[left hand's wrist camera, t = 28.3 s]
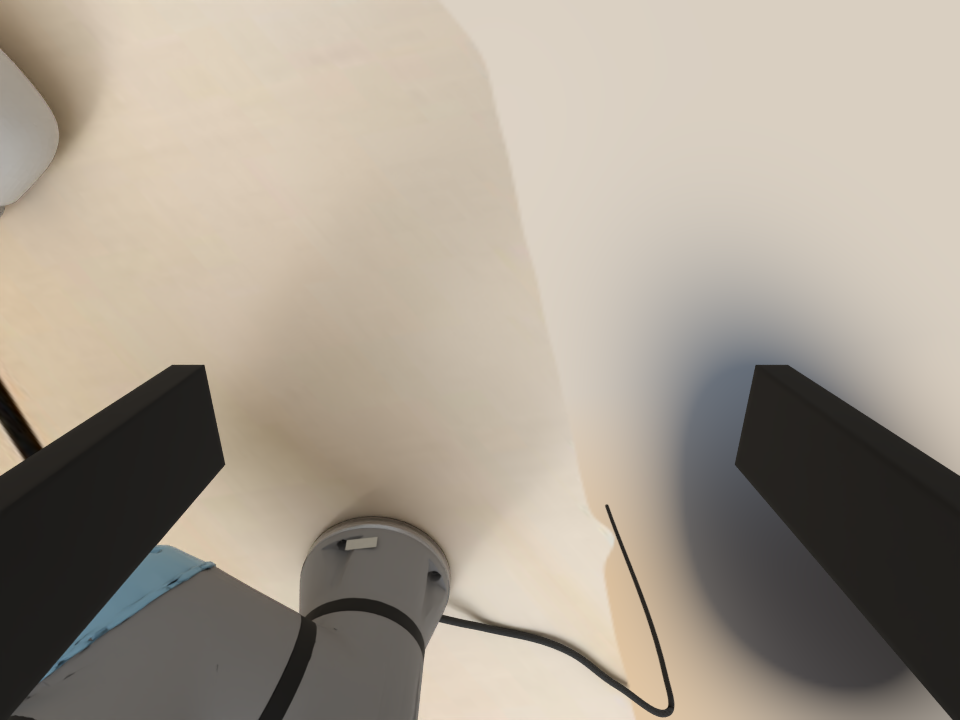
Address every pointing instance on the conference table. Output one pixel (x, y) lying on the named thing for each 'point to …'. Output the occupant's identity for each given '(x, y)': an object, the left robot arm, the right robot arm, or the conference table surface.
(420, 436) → the conference table surface
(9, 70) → the projector
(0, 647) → the left robot arm
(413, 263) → the conference table surface
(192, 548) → the conference table surface
